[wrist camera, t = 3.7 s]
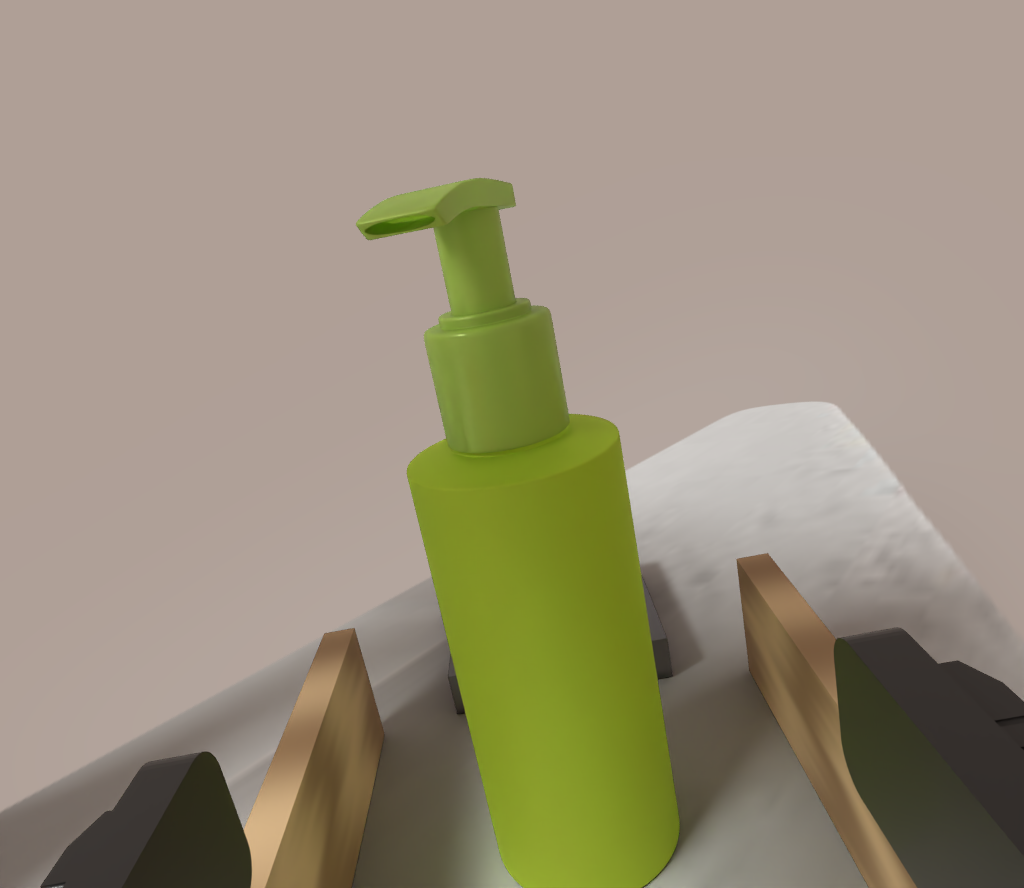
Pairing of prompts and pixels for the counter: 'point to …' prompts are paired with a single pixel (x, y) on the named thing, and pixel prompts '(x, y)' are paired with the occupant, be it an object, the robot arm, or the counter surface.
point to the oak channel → (359, 734)
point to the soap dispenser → (535, 571)
